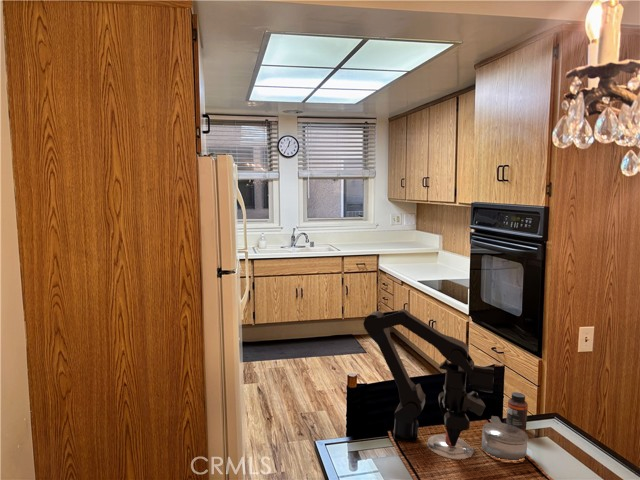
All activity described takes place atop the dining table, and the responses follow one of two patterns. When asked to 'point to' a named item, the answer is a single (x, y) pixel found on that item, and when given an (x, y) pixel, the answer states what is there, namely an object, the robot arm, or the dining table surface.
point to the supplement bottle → (517, 411)
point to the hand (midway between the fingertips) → (450, 437)
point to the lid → (449, 447)
